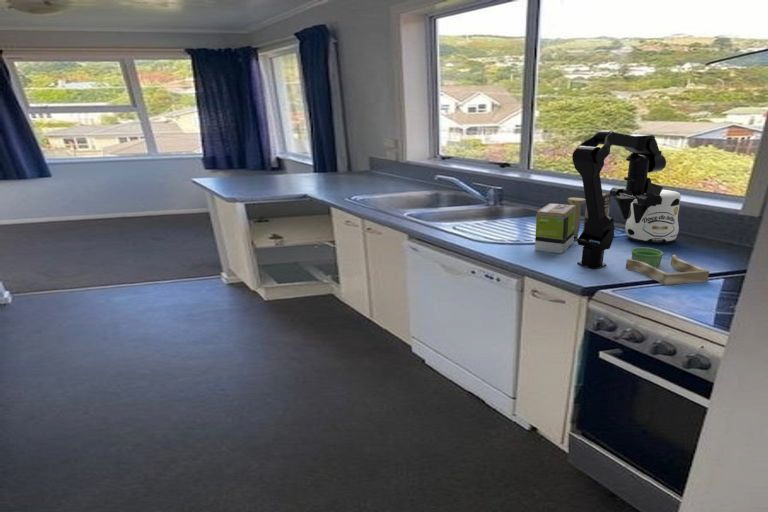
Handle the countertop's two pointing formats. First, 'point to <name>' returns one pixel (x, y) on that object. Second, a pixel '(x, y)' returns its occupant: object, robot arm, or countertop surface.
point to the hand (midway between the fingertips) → (631, 221)
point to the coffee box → (606, 205)
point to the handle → (577, 212)
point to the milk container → (656, 220)
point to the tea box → (555, 227)
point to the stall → (685, 276)
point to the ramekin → (647, 256)
